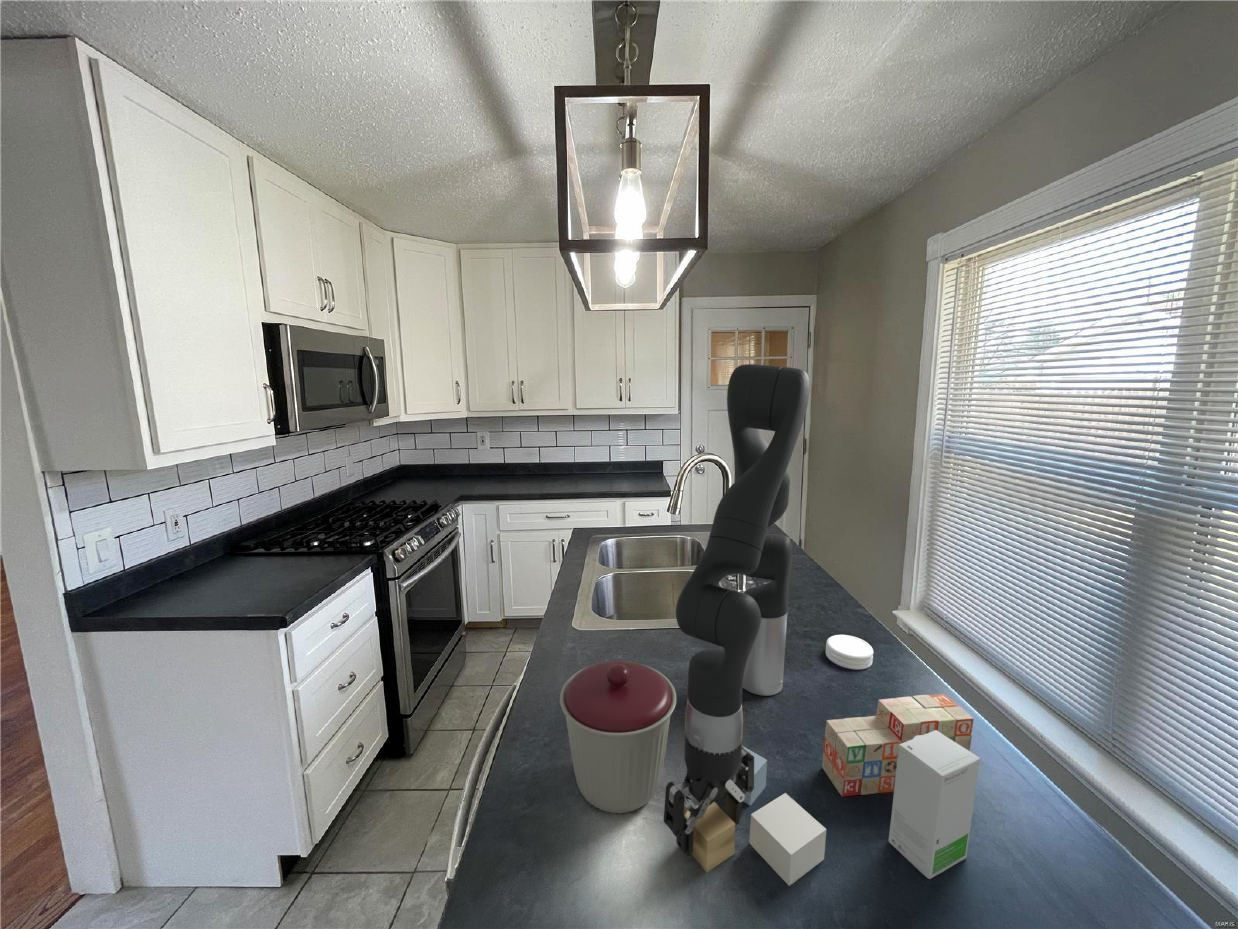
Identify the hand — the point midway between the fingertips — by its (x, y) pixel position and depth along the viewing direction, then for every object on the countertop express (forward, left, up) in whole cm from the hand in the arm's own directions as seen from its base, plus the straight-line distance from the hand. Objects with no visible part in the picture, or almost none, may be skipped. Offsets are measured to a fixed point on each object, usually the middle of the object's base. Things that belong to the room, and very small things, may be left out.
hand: (709, 834), depth 69 cm
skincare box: (+16, +26, -3) cm, 31 cm away
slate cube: (-5, +12, -3) cm, 14 cm away
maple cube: (0, 0, -3) cm, 3 cm away
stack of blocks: (+6, +35, -3) cm, 35 cm away
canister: (-16, -5, -3) cm, 17 cm away
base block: (+6, +9, -3) cm, 11 cm away
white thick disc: (-19, +60, -3) cm, 63 cm away
